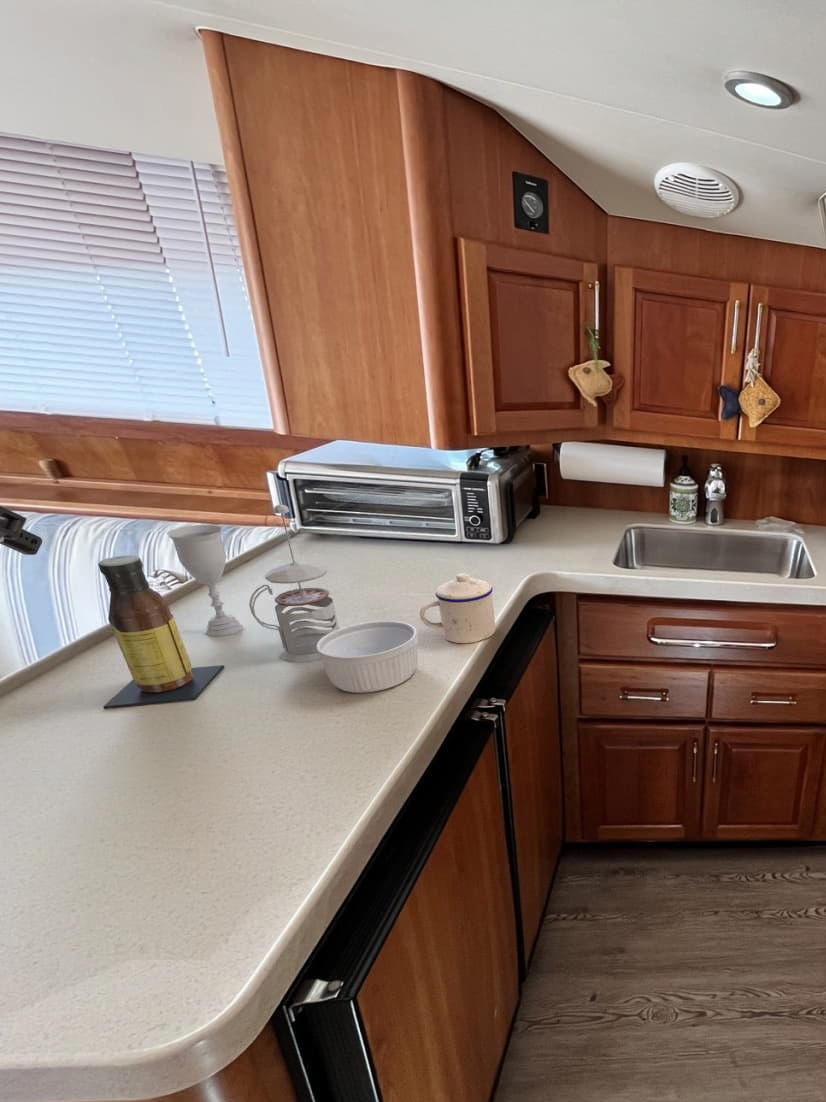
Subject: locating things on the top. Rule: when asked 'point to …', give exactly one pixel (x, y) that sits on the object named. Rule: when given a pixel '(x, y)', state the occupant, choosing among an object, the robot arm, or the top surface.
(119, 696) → the mat
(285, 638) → the french press
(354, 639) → the ramekin
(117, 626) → the sauce bottle
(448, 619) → the teacup with lid
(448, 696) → the top surface
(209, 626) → the chalice
